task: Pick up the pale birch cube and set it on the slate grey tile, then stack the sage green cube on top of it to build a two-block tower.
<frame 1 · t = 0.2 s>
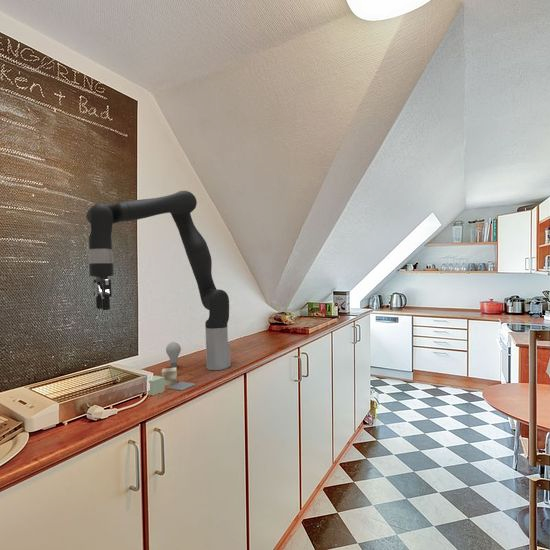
hand: (102, 309, 122), 28 cm above the countertop, tool pointing down, fingers open, 8 cm apart
sage block: (153, 393, 119), on the countertop
birch block: (169, 383, 130), on the countertop
build tile: (181, 386, 125), on the countertop
lightbulb: (174, 368, 151), on the countertop
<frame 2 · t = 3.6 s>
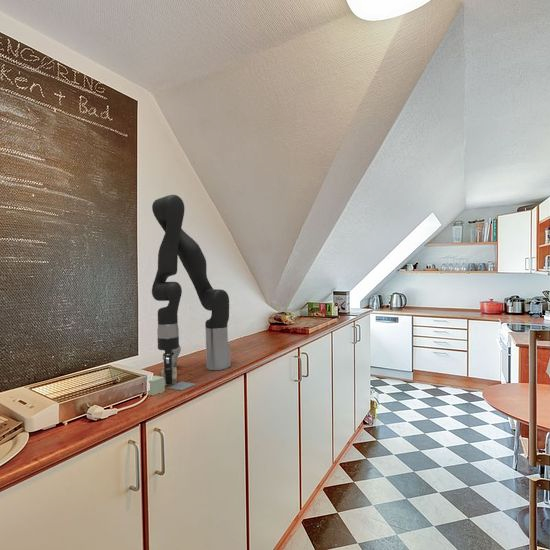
hand: (169, 381, 130), 0 cm above the countertop, tool pointing down, fingers closed on birch block, 5 cm apart
birch block: (169, 382, 130), on the countertop, touching gripper
everything else where it was.
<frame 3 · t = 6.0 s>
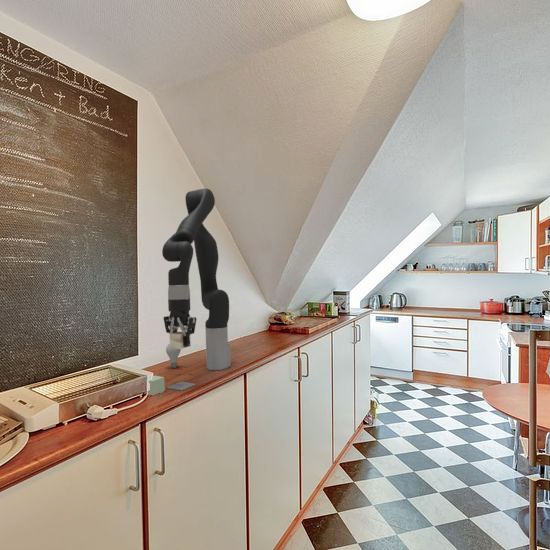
hand: (180, 345, 125), 15 cm above the countertop, tool pointing down, fingers closed on birch block, 5 cm apart
birch block: (180, 347, 125), point 14 cm above the countertop, touching gripper
everything else where it was.
when the fingers open (2 cm above the countertop, at t = 8.6 s): birch block drops 1 cm, resting on build tile.
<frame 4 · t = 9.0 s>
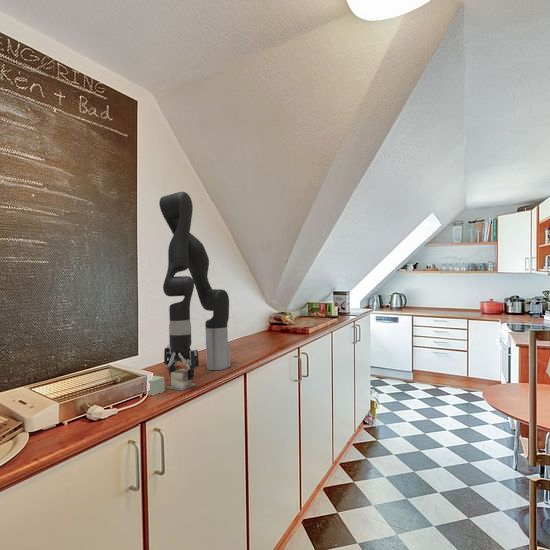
hand: (181, 378, 125), 3 cm above the countertop, tool pointing down, fingers open, 8 cm apart
birch block: (181, 385, 125), resting on build tile
everything else where it was.
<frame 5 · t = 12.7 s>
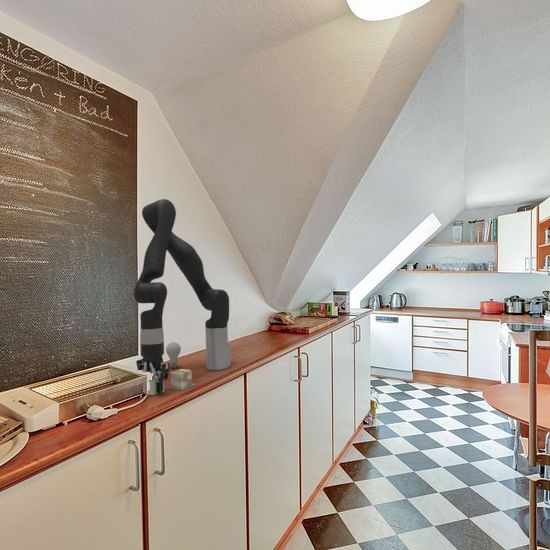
hand: (153, 391, 119), 0 cm above the countertop, tool pointing down, fingers closed on sage block, 5 cm apart
sage block: (153, 392, 119), on the countertop, touching gripper
everything else where it was.
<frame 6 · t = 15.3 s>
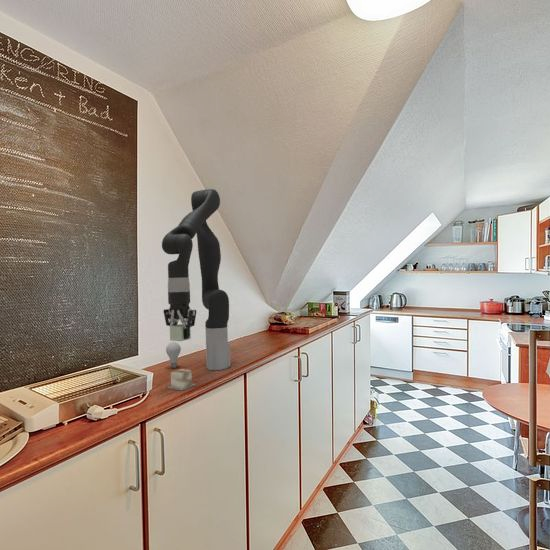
hand: (180, 338, 125), 17 cm above the countertop, tool pointing down, fingers closed on sage block, 5 cm apart
sage block: (180, 339, 125), point 17 cm above the countertop, touching gripper
everything else where it was.
when the fingers open (7 cm above the countertop, at t = 18.2 s): sage block stays where it is, resting on birch block.
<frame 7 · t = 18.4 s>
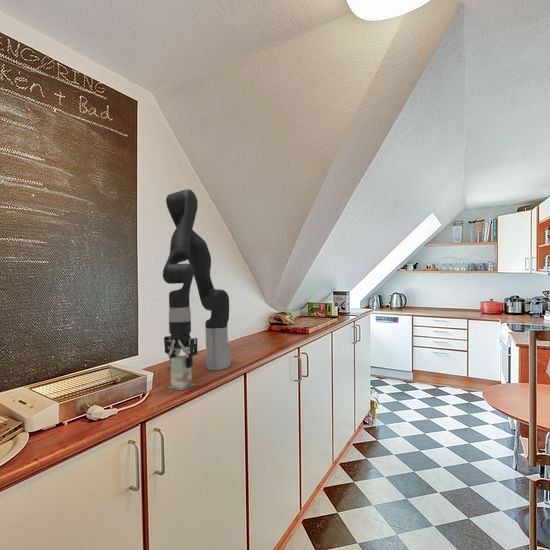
hand: (181, 366, 125), 7 cm above the countertop, tool pointing down, fingers open, 7 cm apart
sage block: (181, 371, 125), point 5 cm above the countertop, touching birch block
birch block: (181, 385, 125), resting on build tile, touching sage block
everything else where it was.
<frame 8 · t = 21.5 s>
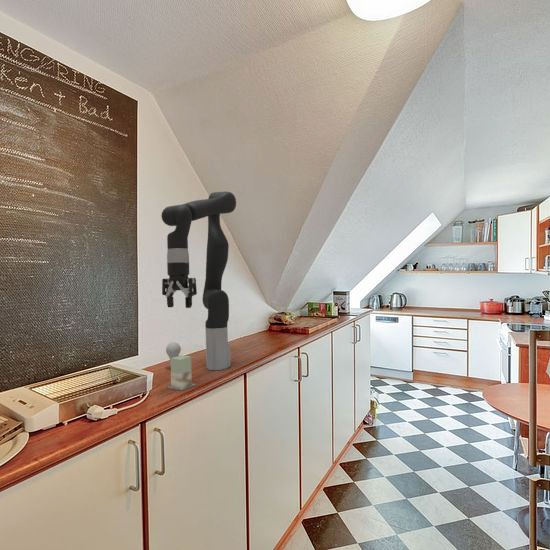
hand: (179, 307, 125), 28 cm above the countertop, tool pointing down, fingers open, 8 cm apart
nothing on the countertop moved.
at the end: birch block 0.1 cm from the target spot, resting on build tile; sage block 0.1 cm off-centre on the birch block, point 5.0 cm above the birch block's base; sage block tilted 0° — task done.
